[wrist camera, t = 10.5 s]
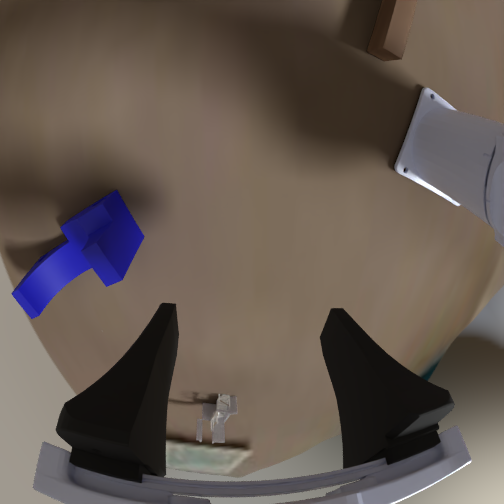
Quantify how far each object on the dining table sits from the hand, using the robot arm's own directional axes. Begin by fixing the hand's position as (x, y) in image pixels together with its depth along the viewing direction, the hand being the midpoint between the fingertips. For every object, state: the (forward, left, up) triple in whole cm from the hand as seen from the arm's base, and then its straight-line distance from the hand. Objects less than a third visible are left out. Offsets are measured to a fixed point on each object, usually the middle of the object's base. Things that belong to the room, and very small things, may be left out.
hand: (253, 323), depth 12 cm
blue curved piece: (+14, +5, -11) cm, 18 cm away
